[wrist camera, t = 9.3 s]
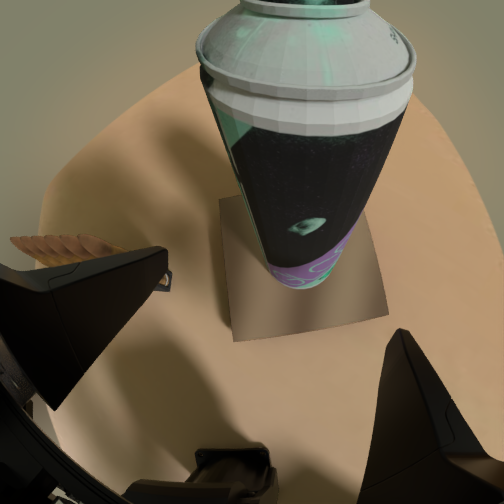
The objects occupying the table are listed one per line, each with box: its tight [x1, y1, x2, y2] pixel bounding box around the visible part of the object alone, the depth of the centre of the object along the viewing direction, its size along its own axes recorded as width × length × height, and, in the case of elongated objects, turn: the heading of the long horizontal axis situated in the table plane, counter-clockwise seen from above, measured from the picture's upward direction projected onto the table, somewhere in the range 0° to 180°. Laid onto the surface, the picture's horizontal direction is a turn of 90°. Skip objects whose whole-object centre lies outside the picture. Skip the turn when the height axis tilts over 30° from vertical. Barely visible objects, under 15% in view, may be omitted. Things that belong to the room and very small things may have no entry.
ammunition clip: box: [10, 234, 172, 292], centre depth 20 cm, size 11×2×12 cm, turn 87°
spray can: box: [196, 0, 416, 289], centre depth 12 cm, size 6×6×20 cm
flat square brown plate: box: [219, 195, 389, 342], centre depth 22 cm, size 12×12×2 cm
